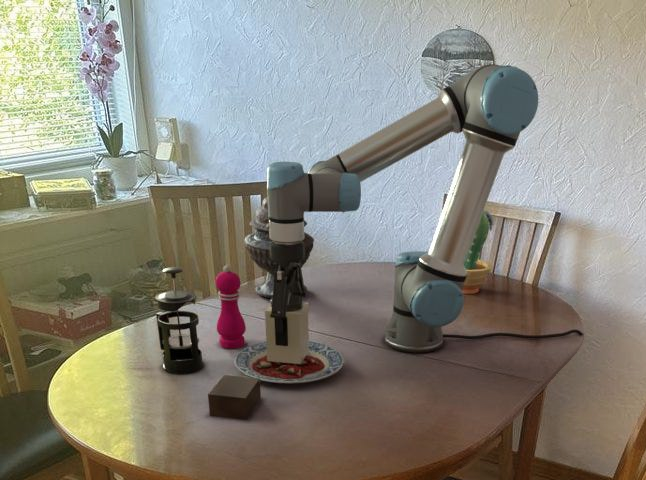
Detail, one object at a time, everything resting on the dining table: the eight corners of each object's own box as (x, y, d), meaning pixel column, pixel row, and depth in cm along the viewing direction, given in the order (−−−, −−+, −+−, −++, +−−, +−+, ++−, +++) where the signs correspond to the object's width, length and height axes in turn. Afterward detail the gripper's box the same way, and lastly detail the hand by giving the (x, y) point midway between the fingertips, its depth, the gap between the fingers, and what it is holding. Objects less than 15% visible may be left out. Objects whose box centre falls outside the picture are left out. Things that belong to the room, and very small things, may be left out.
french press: (214, 365, 167) (205, 268, 155) (185, 378, 160) (174, 278, 148) (179, 354, 173) (168, 259, 160) (149, 366, 166) (136, 268, 154)
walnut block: (261, 399, 153) (260, 378, 150) (246, 420, 144) (245, 398, 142) (225, 395, 154) (224, 374, 151) (209, 416, 145) (207, 394, 143)
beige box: (292, 365, 171) (335, 327, 164) (284, 378, 165) (328, 339, 158) (248, 319, 167) (290, 278, 160) (238, 331, 160) (281, 289, 153)
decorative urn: (277, 276, 227) (275, 160, 206) (326, 293, 218) (330, 174, 197) (232, 293, 214) (226, 172, 193) (283, 313, 205) (282, 187, 184)
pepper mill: (241, 351, 175) (235, 270, 165) (213, 348, 177) (206, 268, 166) (250, 340, 181) (246, 262, 171) (224, 337, 183) (218, 260, 172)
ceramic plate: (301, 401, 152) (301, 388, 151) (212, 372, 164) (211, 360, 162) (364, 363, 171) (364, 351, 170) (279, 340, 182) (279, 329, 181)
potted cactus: (492, 297, 218) (503, 213, 204) (442, 296, 218) (450, 211, 204) (485, 283, 231) (495, 202, 217) (438, 281, 231) (446, 201, 217)
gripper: (285, 226, 163) (287, 315, 174) (252, 254, 142) (258, 353, 153) (316, 228, 162) (317, 318, 173) (288, 256, 141) (291, 356, 152)
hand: (289, 334), depth 163 cm, fingers open, 13 cm apart
